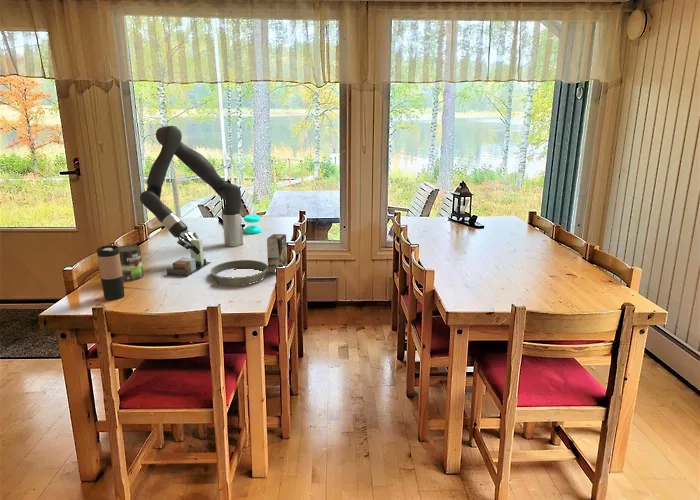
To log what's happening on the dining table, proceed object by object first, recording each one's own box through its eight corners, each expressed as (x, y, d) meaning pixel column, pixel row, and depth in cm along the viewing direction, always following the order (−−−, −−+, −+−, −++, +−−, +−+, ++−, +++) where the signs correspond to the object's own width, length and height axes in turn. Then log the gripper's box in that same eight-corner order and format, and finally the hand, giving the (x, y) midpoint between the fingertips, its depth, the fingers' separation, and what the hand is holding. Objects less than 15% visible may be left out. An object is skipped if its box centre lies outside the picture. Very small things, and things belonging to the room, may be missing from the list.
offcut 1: (178, 271, 214) (177, 260, 213) (190, 272, 213) (189, 261, 212) (173, 273, 211) (172, 263, 209) (185, 275, 209) (184, 264, 208)
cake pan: (208, 272, 217) (208, 262, 215) (262, 266, 225) (262, 257, 224) (214, 290, 195) (213, 280, 193) (273, 283, 203) (273, 273, 202)
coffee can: (149, 278, 208) (145, 247, 204) (127, 285, 200) (123, 253, 196) (134, 274, 213) (130, 243, 209) (113, 280, 205) (108, 249, 201)
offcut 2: (184, 267, 219) (183, 257, 217) (196, 268, 217) (195, 258, 216) (179, 270, 215) (178, 260, 213) (191, 271, 213) (190, 261, 212)
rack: (192, 262, 229) (192, 254, 228) (211, 264, 227) (211, 256, 226) (167, 277, 209) (166, 268, 208) (187, 278, 207) (186, 270, 206)
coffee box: (281, 273, 214) (279, 239, 210) (267, 272, 216) (266, 238, 211) (287, 267, 223) (286, 234, 218) (274, 266, 224) (273, 233, 220)
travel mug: (108, 293, 191) (101, 245, 185) (128, 293, 191) (121, 245, 186) (100, 300, 183) (92, 251, 178) (121, 300, 184) (114, 250, 178)
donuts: (245, 214, 289) (262, 214, 288) (246, 230, 291) (262, 230, 291) (241, 217, 279) (258, 217, 279) (242, 234, 282) (259, 234, 282)
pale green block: (194, 262, 226) (192, 238, 222) (203, 263, 225) (202, 239, 221) (191, 264, 223) (189, 239, 220) (201, 265, 222) (199, 240, 219)
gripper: (170, 223, 213) (197, 251, 214) (187, 216, 226) (213, 243, 227) (161, 234, 216) (188, 261, 217) (178, 227, 229) (203, 253, 230)
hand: (200, 252), depth 222 cm, fingers closed on pale green block, 2 cm apart
